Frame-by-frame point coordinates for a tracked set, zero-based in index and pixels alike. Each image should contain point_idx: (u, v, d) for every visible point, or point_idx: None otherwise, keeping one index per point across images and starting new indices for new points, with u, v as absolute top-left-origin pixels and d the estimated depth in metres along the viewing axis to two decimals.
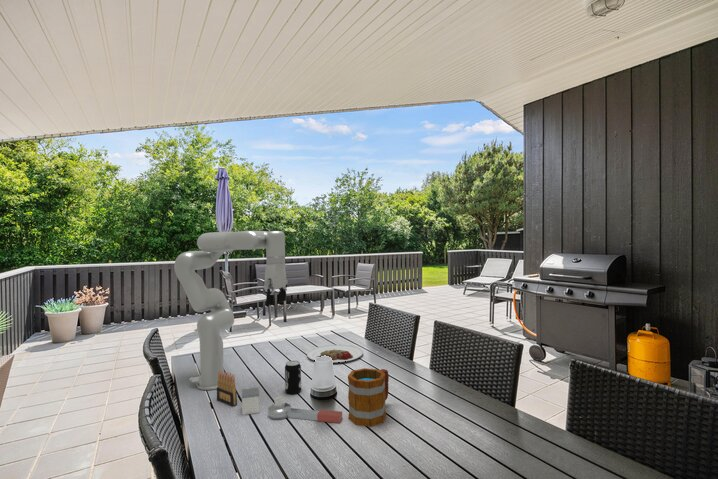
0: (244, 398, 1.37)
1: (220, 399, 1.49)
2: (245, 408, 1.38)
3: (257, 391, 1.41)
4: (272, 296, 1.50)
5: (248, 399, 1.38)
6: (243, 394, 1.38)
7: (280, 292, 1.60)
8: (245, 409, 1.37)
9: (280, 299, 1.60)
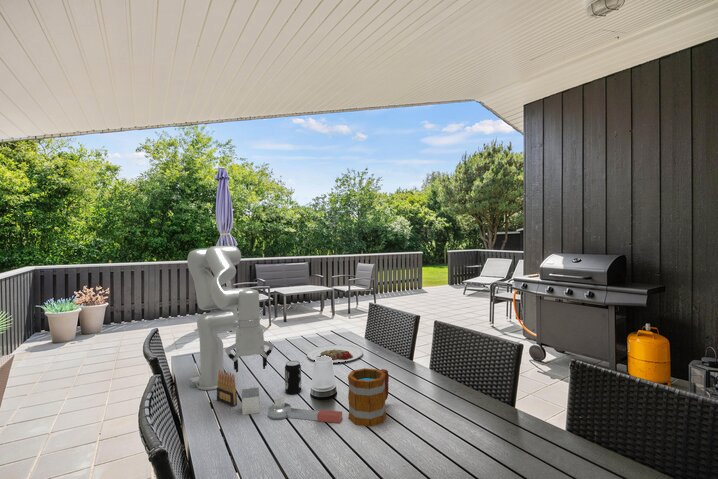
0: (244, 398, 1.37)
1: (220, 399, 1.49)
2: (245, 408, 1.38)
3: (257, 391, 1.41)
4: None
5: (248, 399, 1.38)
6: (243, 394, 1.38)
7: (237, 362, 1.38)
8: (245, 409, 1.37)
9: None
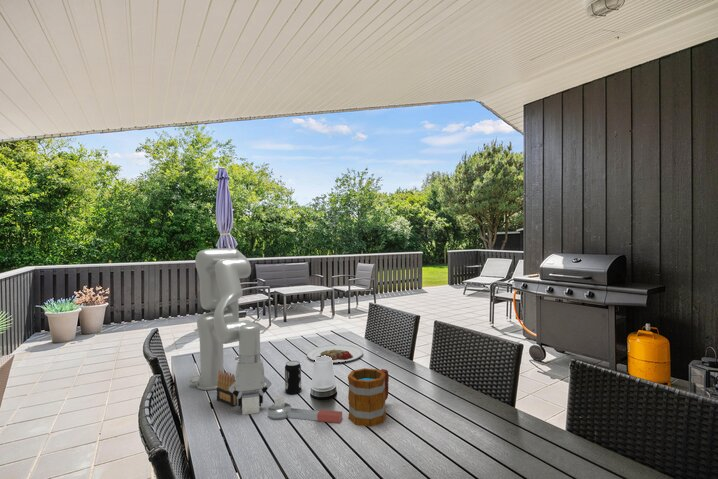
0: (244, 398, 1.37)
1: (220, 399, 1.49)
2: (245, 408, 1.37)
3: (257, 391, 1.41)
4: None
5: (248, 399, 1.38)
6: (243, 394, 1.38)
7: None
8: (245, 409, 1.37)
9: None
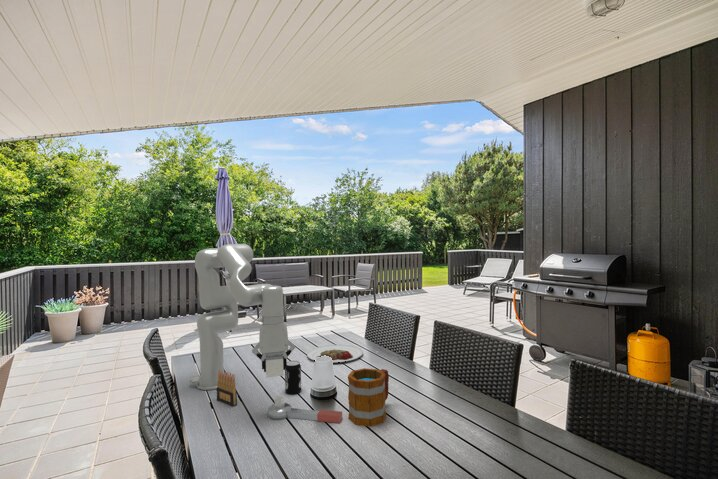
0: (268, 360, 1.34)
1: (220, 399, 1.49)
2: (268, 371, 1.34)
3: (281, 354, 1.37)
4: None
5: (272, 361, 1.34)
6: (267, 356, 1.35)
7: (265, 361, 1.36)
8: (269, 372, 1.34)
9: None
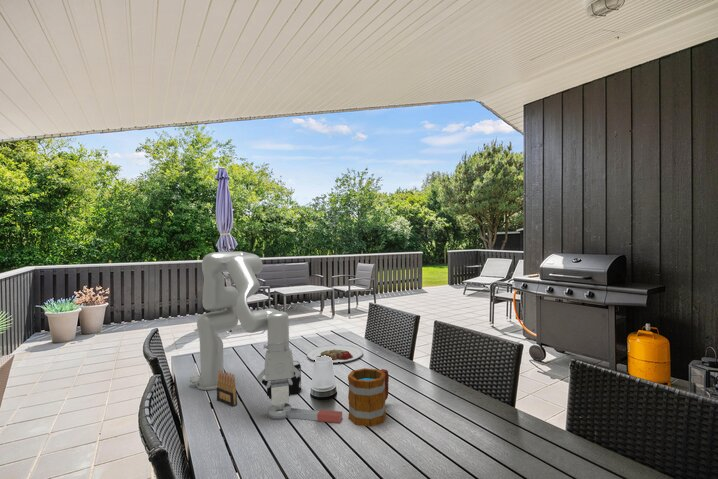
0: (274, 387, 1.33)
1: (220, 399, 1.49)
2: (274, 398, 1.33)
3: (286, 380, 1.37)
4: None
5: (277, 388, 1.34)
6: (272, 383, 1.34)
7: None
8: (274, 399, 1.33)
9: None
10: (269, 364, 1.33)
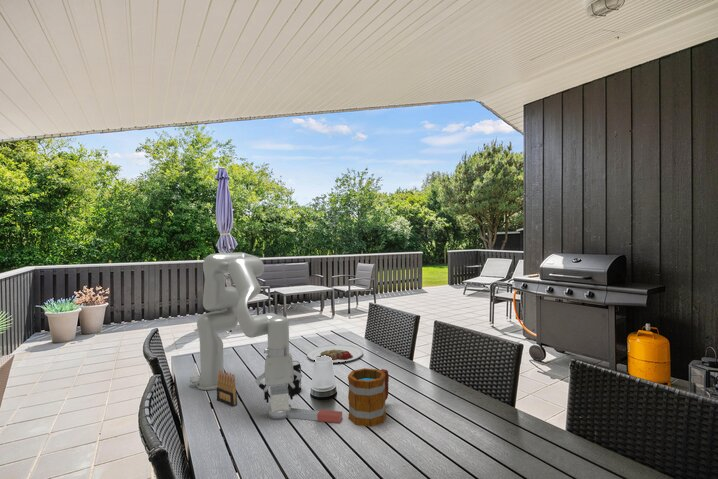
0: (274, 395, 1.33)
1: (220, 399, 1.49)
2: (274, 406, 1.34)
3: (286, 388, 1.37)
4: None
5: (277, 396, 1.34)
6: (272, 391, 1.34)
7: None
8: (274, 406, 1.33)
9: (268, 400, 1.35)
10: (269, 369, 1.33)
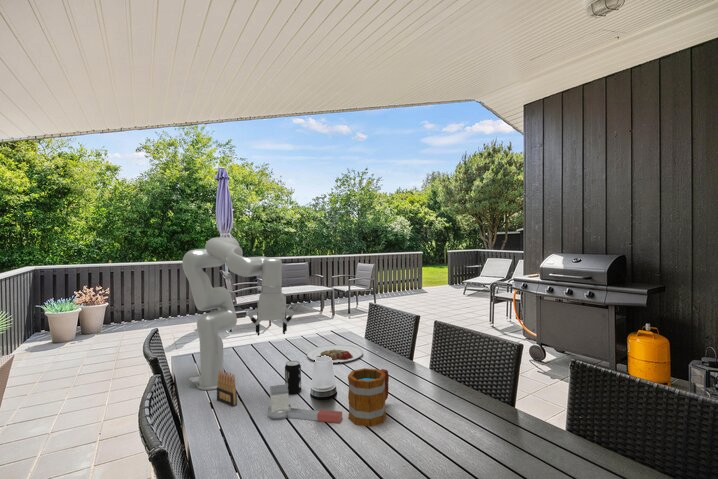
0: (274, 395, 1.33)
1: (220, 399, 1.49)
2: (274, 406, 1.34)
3: (286, 388, 1.37)
4: None
5: (277, 396, 1.34)
6: (272, 391, 1.34)
7: None
8: (274, 406, 1.33)
9: None
10: (262, 305, 1.44)
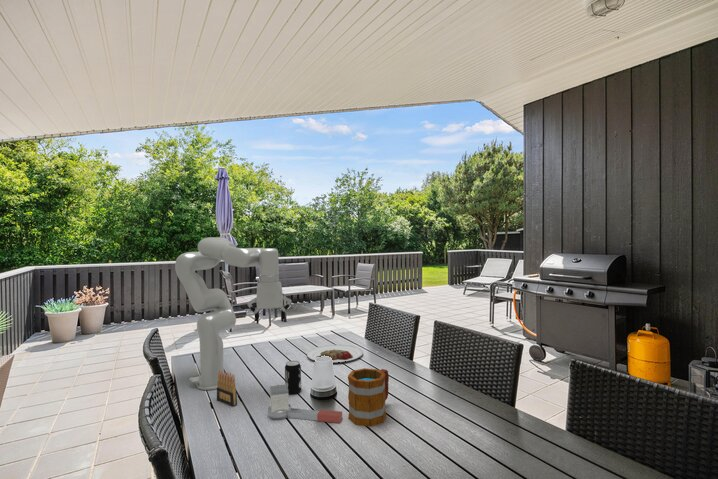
0: (274, 395, 1.33)
1: (220, 399, 1.49)
2: (274, 406, 1.34)
3: (286, 388, 1.37)
4: None
5: (277, 396, 1.34)
6: (272, 391, 1.34)
7: (258, 314, 1.50)
8: (274, 406, 1.33)
9: (258, 321, 1.50)
10: (260, 293, 1.48)
